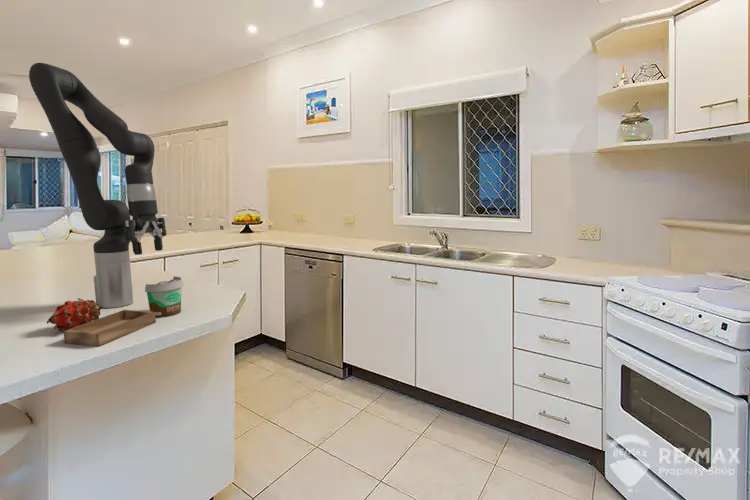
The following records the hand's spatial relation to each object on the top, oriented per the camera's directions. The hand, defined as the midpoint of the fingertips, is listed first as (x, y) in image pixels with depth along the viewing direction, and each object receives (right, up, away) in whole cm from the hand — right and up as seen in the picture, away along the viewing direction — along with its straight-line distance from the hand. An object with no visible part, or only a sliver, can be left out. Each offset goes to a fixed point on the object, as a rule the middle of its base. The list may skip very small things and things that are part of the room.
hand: (148, 252), depth 122 cm
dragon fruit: (-9, -20, -18) cm, 28 cm away
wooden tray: (+3, -20, -20) cm, 29 cm away
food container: (+9, -18, -5) cm, 21 cm away
